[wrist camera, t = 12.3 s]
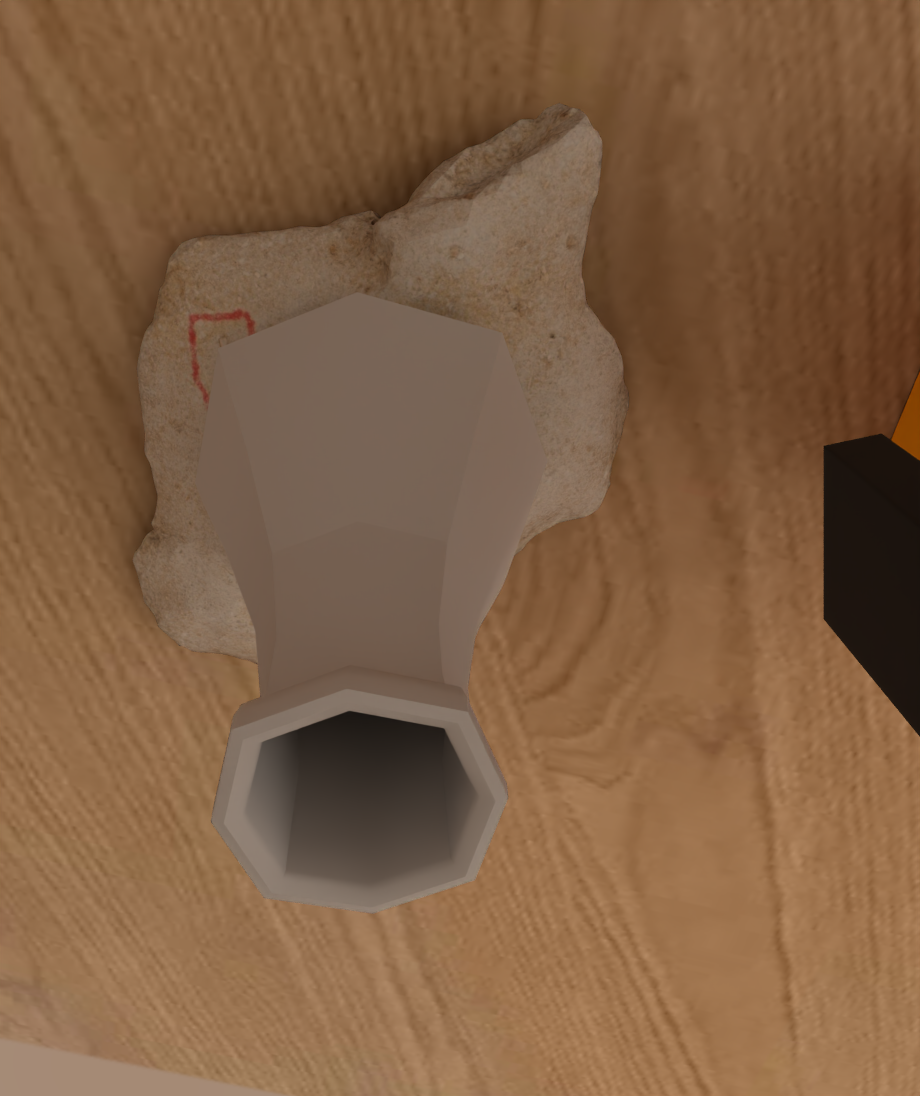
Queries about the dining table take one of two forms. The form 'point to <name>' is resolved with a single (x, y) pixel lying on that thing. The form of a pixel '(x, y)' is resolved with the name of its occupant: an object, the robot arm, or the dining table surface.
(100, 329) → the dining table surface
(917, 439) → the orange juice
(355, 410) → the flask
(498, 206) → the stone
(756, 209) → the dining table surface
